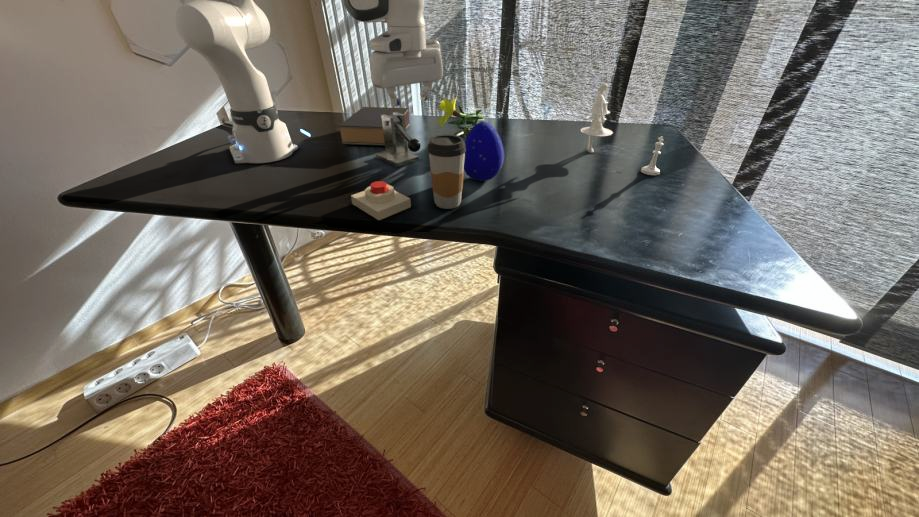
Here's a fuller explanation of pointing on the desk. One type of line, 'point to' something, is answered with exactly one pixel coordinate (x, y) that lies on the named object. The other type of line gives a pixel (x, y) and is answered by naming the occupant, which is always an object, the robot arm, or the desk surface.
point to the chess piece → (653, 160)
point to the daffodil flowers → (466, 118)
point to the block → (381, 202)
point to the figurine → (597, 118)
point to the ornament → (483, 152)
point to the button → (378, 187)
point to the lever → (406, 135)
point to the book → (368, 125)
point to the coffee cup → (447, 169)
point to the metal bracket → (395, 143)
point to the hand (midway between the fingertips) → (410, 102)
